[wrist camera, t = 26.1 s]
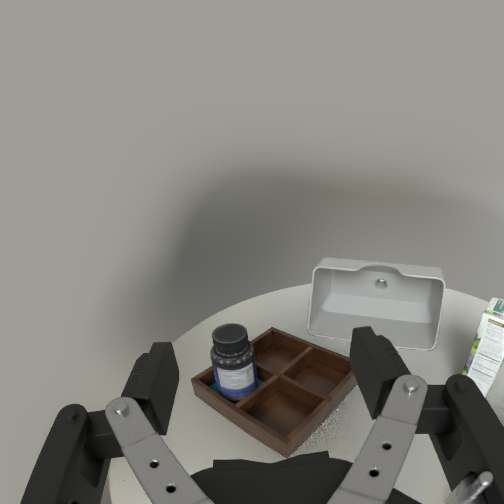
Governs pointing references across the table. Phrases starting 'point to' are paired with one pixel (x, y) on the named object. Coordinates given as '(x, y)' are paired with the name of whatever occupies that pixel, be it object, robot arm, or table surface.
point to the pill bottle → (233, 362)
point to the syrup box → (487, 347)
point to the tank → (377, 301)
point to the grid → (284, 390)
